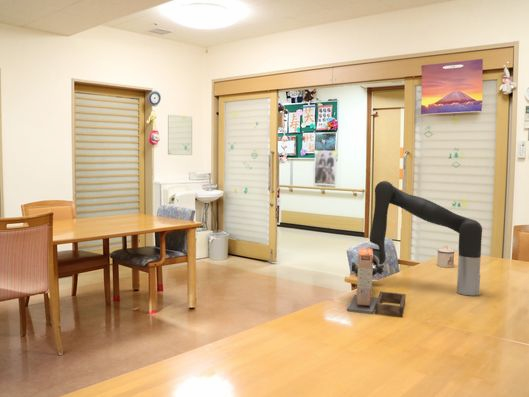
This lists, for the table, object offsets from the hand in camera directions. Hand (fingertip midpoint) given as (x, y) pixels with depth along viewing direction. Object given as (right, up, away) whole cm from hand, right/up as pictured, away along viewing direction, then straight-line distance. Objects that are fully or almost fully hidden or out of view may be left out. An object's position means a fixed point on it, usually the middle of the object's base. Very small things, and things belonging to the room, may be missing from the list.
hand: (364, 272), depth 201 cm
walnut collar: (+10, -14, -3) cm, 17 cm away
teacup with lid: (+62, -8, +75) cm, 97 cm away
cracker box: (0, -12, 0) cm, 12 cm away
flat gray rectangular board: (-1, -14, 0) cm, 14 cm away
